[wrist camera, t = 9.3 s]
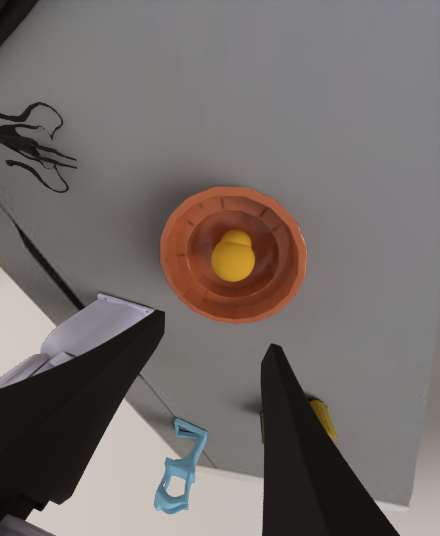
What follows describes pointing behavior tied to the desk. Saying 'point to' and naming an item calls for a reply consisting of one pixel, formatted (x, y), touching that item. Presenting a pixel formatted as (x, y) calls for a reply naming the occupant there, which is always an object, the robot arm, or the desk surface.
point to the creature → (28, 143)
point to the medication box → (322, 416)
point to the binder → (12, 15)
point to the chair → (180, 470)
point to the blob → (233, 256)
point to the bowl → (210, 234)
